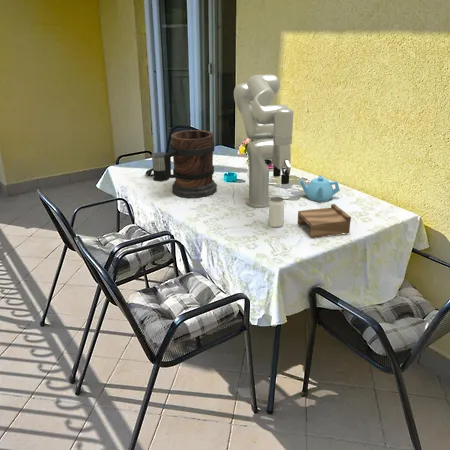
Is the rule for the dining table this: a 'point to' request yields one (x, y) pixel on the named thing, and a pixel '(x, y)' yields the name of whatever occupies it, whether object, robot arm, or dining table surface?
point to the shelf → (325, 221)
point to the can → (276, 211)
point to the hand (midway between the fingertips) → (280, 180)
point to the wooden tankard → (191, 164)
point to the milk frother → (158, 167)
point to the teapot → (320, 189)
